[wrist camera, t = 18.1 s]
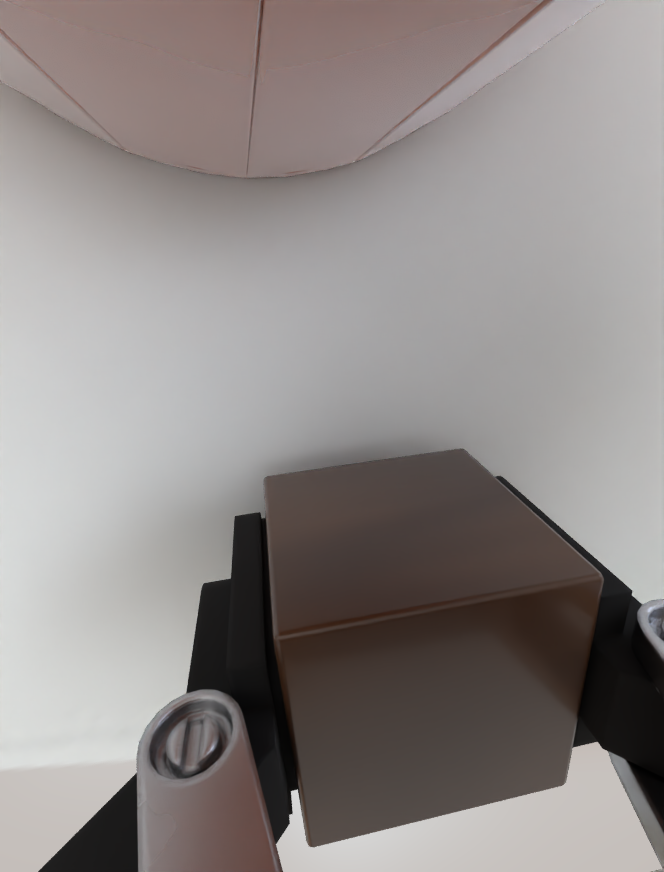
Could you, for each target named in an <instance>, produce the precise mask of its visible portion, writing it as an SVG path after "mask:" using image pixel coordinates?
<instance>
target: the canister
mask: <svg viewBox="0 0 664 872" xmlns="http://www.w3.org/2000/svg"><path fill="white" fill-rule="evenodd" d="M606 1H607V0H0V81H1V82H2V83H4V84H6V85H8V86H10V87H11V88H13V89H15V90H17V91H18V92H20V93H22V94H24V95H26V96H27V97H29V98H31V99H33V100H34V101H36V102H38V103H40V104H41V105H43V106H44V107H45V108H47V109H48V110H50V111H51V112H53V113H54V114H56V115H58V116H59V117H61V118H63V119H65V120H67V121H68V122H70V123H72V124H74V125H76V126H78V127H79V128H81V129H83V130H85V131H87V132H89V133H90V134H92V135H94V136H96V137H98V138H100V139H101V140H103V141H105V142H108V143H110V144H113V145H114V146H116V147H118V148H120V149H122V150H127V151H128V152H129V153H131V154H135V155H140V156H143V157H145V158H148V159H150V160H153V161H156V162H160V163H164V164H168V165H172V166H175V167H179V168H183V169H187V170H191V171H195V172H199V173H205V174H214V175H223V176H232V177H240V178H265V177H290V176H296V175H301V174H307V173H312V172H317V171H323V170H328V169H332V168H335V167H338V166H341V165H347V164H351V163H352V162H354V161H355V162H358V161H360V160H362V159H363V158H365V157H367V156H370V155H372V154H374V153H376V152H377V151H379V150H381V149H383V148H385V147H387V146H389V145H391V144H393V143H395V142H396V141H398V140H400V139H402V138H404V137H406V136H408V135H409V134H411V133H412V132H413V131H415V130H417V129H418V128H420V127H422V126H424V125H426V124H428V123H429V122H431V121H433V120H435V119H437V118H439V117H440V116H442V115H444V114H446V113H447V112H449V111H450V110H452V109H453V108H455V107H456V106H457V105H459V104H460V103H462V102H463V101H465V100H466V99H467V98H469V97H470V96H472V95H473V94H475V93H476V92H477V91H479V90H480V89H482V88H483V87H485V86H486V85H487V84H489V83H490V82H492V81H493V80H495V79H496V78H497V77H499V76H500V75H502V74H503V73H505V72H506V71H507V70H509V69H510V68H512V67H513V66H515V65H516V64H517V63H519V62H520V61H522V60H523V59H525V58H526V57H527V56H529V55H530V54H532V53H533V52H535V51H536V50H537V49H539V48H540V47H542V46H543V45H545V44H546V43H547V42H549V41H550V40H552V39H553V38H555V37H556V36H557V35H559V34H560V33H562V32H563V31H565V30H566V29H567V28H569V27H570V26H572V25H573V24H575V23H576V22H577V21H579V20H580V19H582V18H583V17H585V16H586V15H587V14H589V13H590V12H592V11H593V10H595V9H596V8H597V7H599V6H600V5H602V4H603V3H605V2H606Z"/></svg>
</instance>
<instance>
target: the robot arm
mask: <svg viewBox="0 0 664 872" xmlns="http://www.w3.org/2000/svg"><path fill="white" fill-rule="evenodd" d="M495 478H497V479H498V480H499V481H500V482H501V483H502V484H503V485H504V486H505V487H506V488H508V489H509V490H510V491H511V492H512V493H513V494H514V495H515V496H516V497H518V498H519V499H520V500H521V501H522V502H523V503H524V504H525V505H526V506H528V507H529V508H530V509H531V510H532V511H533V512H534V513H535V514H536V515H538V516H539V517H540V518H541V519H542V520H543V521H544V522H545V523H546V524H547V525H549V526H550V527H551V528H552V529H553V530H554V531H555V532H556V533H557V534H559V535H560V536H561V537H562V538H563V539H564V540H565V541H566V542H567V543H569V544H570V545H571V546H572V547H573V548H574V549H575V550H576V551H577V552H578V553H580V554H581V555H582V556H583V557H584V558H585V559H586V560H587V561H588V562H590V563H591V564H592V565H593V566H594V567H595V568H596V569H597V570H598V571H600V572H601V574H602V576H603V578H604V583H603V588H602V593H601V599H600V604H599V609H598V615H597V620H596V625H595V631H594V636H593V641H592V647H591V652H590V657H589V662H588V668H587V673H586V678H585V684H584V689H583V694H582V700H581V705H580V710H579V716H578V721H577V726H576V732H575V737H574V742H573V747H577V746H580V745H585V744H589V743H594V742H598V743H599V744H600V746H601V747H602V748H603V749H605V750H607V751H608V752H609V756H610V759H611V762H612V764H613V766H614V768H615V770H616V772H617V774H618V776H619V779H620V781H621V783H622V785H623V787H624V789H625V791H626V793H627V795H628V797H629V799H630V801H631V803H632V806H633V808H634V810H635V812H636V814H637V816H638V818H639V820H640V822H641V824H642V826H643V828H644V830H645V832H646V835H647V837H648V839H649V841H650V843H651V845H652V847H653V849H654V851H655V853H656V855H657V857H658V860H659V862H660V863H661V866H662V868H663V869H660V870H656V871H652V872H664V599H659V600H652V601H649V602H647V603H645V604H643V605H642V604H641V603H640V602H639V601H638V600H636V599H635V598H634V597H633V596H632V590H631V589H630V588H628V587H627V586H626V585H625V584H624V583H623V582H622V581H620V580H619V579H618V578H617V577H616V576H615V575H614V574H613V573H611V572H610V571H609V570H608V569H607V568H606V567H605V566H603V565H602V564H601V563H600V562H599V561H598V560H597V559H595V558H594V557H593V556H592V555H591V554H590V553H589V552H587V551H586V550H585V549H584V548H583V547H582V546H581V545H579V544H578V543H577V542H576V541H575V540H574V539H573V538H571V537H570V536H569V535H568V534H567V533H566V532H565V531H564V530H562V529H561V528H560V527H559V526H558V525H557V524H556V523H554V522H553V521H552V520H551V519H550V518H549V517H548V516H546V515H545V514H544V513H543V512H542V511H541V510H540V509H538V508H537V507H536V506H535V505H534V504H533V503H532V502H530V501H529V500H528V499H527V498H526V497H525V496H524V495H522V494H521V493H520V492H519V491H518V490H517V489H516V488H515V487H513V486H512V485H511V484H510V483H509V482H508V481H507V480H505V479H504V478H503V477H501V476H495ZM297 789H298V787H297V781H296V775H295V769H294V763H293V756H292V750H291V744H290V738H289V732H288V726H287V720H286V714H285V708H284V702H283V696H282V690H281V684H280V678H279V672H278V666H277V660H276V654H275V648H274V642H273V632H272V615H271V598H270V581H269V565H268V548H267V531H266V518H263V519H261V514H260V512H259V513H252V514H246V515H239V516H235V520H234V538H233V555H232V572H231V579H226V580H220V581H214V582H208V583H204V584H203V586H202V590H201V596H200V603H199V610H198V617H197V624H196V631H195V637H194V644H193V651H192V658H191V665H190V672H189V679H188V686H187V693H186V694H184V695H182V696H180V697H179V698H177V699H175V700H173V701H171V702H170V703H169V704H167V705H166V706H165V707H164V708H163V709H161V710H160V711H159V712H158V713H157V714H156V715H155V717H154V718H153V719H152V720H151V722H150V723H149V724H148V725H147V727H146V729H145V731H144V733H143V735H142V737H141V740H140V742H139V747H138V753H137V773H136V774H135V775H134V776H133V777H132V778H131V779H130V780H129V781H128V782H127V783H126V784H125V785H124V786H123V787H122V788H121V789H120V790H119V791H118V792H117V793H116V794H115V795H114V796H113V797H112V798H111V799H110V800H109V801H108V802H107V803H106V804H105V805H104V806H103V807H102V808H101V809H100V810H99V811H98V812H97V813H96V814H95V815H94V816H93V817H92V818H91V819H90V820H89V821H88V822H87V823H86V824H85V825H84V826H83V827H82V828H81V829H80V830H79V831H78V832H77V833H76V834H75V836H73V837H72V838H71V839H70V840H69V841H68V842H67V843H66V844H65V845H64V846H63V847H62V848H61V849H60V850H59V851H58V852H57V853H56V854H55V855H54V856H53V857H52V858H51V860H49V861H48V862H47V863H46V864H45V865H44V866H43V867H42V869H40V870H39V871H38V872H283V871H282V867H281V863H280V859H279V855H278V851H277V847H276V843H277V842H278V840H279V839H280V837H281V836H282V834H283V833H284V831H285V830H286V828H287V827H288V825H289V824H290V823H289V815H290V814H292V801H291V791H292V790H297Z"/></svg>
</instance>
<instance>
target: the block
mask: <svg viewBox="0 0 664 872" xmlns="http://www.w3.org/2000/svg"><path fill="white" fill-rule="evenodd" d="M264 498H265V515H266V531H267V548H268V565H269V581H270V598H271V615H272V632H273V642H274V648H275V654H276V660H277V666H278V672H279V678H280V684H281V690H282V696H283V702H284V708H285V714H286V720H287V726H288V732H289V738H290V744H291V750H292V756H293V763H294V769H295V775H296V781H297V787H298V793H299V799H300V805H301V810H302V816H303V823H304V829H305V835H306V841H307V843H308V845H309V846H310V847H316V846H321V845H324V844H329V843H332V842H336V841H341V840H345V839H349V838H353V837H357V836H361V835H365V834H369V833H373V832H377V831H381V830H385V829H389V828H393V827H397V826H401V825H405V824H409V823H413V822H417V821H421V820H425V819H429V818H434V817H438V816H442V815H445V814H450V813H453V812H458V811H461V810H466V809H470V808H474V807H478V806H482V805H486V804H490V803H494V802H498V801H502V800H506V799H510V798H514V797H518V796H522V795H526V794H530V793H534V792H538V791H542V790H546V789H550V788H554V787H558V786H562V785H564V784H565V782H566V779H567V774H568V769H569V763H570V758H571V753H572V748H573V742H574V737H575V732H576V726H577V721H578V716H579V710H580V705H581V700H582V694H583V689H584V684H585V678H586V673H587V668H588V662H589V657H590V652H591V647H592V641H593V636H594V631H595V625H596V620H597V615H598V609H599V604H600V599H601V593H602V588H603V583H604V578H603V576H602V574H601V572H600V571H598V570H597V569H596V568H595V567H594V566H593V565H592V564H591V563H590V562H588V561H587V560H586V559H585V558H584V557H583V556H582V555H581V554H580V553H578V552H577V551H576V550H575V549H574V548H573V547H572V546H571V545H570V544H569V543H567V542H566V541H565V540H564V539H563V538H562V537H561V536H560V535H559V534H557V533H556V532H555V531H554V530H553V529H552V528H551V527H550V526H549V525H547V524H546V523H545V522H544V521H543V520H542V519H541V518H540V517H539V516H538V515H536V514H535V513H534V512H533V511H532V510H531V509H530V508H529V507H528V506H526V505H525V504H524V503H523V502H522V501H521V500H520V499H519V498H518V497H516V496H515V495H514V494H513V493H512V492H511V491H510V490H509V489H508V488H506V487H505V486H504V485H503V484H502V483H501V482H500V481H499V480H498V479H497V478H495V477H494V476H493V475H492V474H491V473H490V472H489V471H488V470H487V469H485V468H484V467H483V466H482V465H481V464H480V463H479V462H478V461H477V460H475V459H474V458H473V457H472V456H471V455H470V454H469V453H468V452H467V451H466V450H464V449H454V450H447V451H440V452H433V453H426V454H419V455H412V456H405V457H398V458H391V459H384V460H377V461H370V462H363V463H356V464H349V465H342V466H335V467H328V468H321V469H314V470H307V471H300V472H293V473H286V474H279V475H272V476H267V477H265V478H264Z"/></svg>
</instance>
